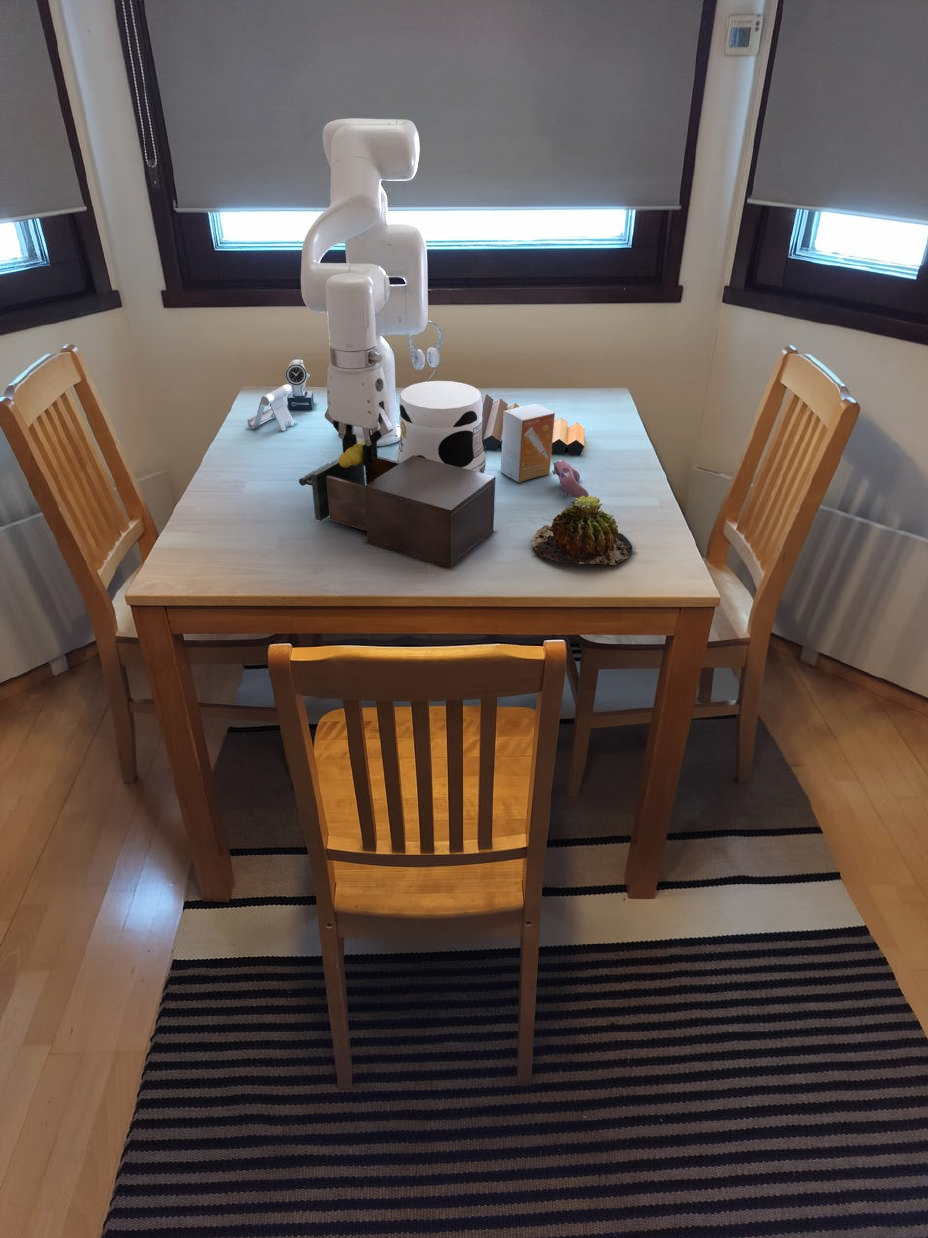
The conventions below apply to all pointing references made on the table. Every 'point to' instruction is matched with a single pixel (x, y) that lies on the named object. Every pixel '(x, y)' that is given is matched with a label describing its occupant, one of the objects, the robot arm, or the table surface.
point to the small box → (527, 442)
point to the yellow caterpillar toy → (352, 456)
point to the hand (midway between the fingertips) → (360, 460)
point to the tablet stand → (273, 409)
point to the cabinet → (430, 510)
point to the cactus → (583, 536)
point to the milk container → (442, 424)
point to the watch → (298, 387)
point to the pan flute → (495, 411)
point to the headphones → (432, 352)
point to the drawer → (344, 490)
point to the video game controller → (569, 479)
